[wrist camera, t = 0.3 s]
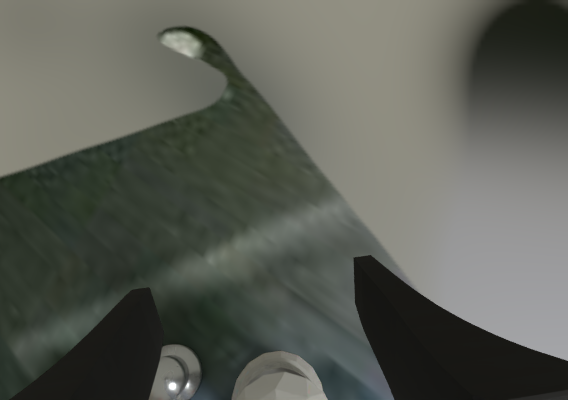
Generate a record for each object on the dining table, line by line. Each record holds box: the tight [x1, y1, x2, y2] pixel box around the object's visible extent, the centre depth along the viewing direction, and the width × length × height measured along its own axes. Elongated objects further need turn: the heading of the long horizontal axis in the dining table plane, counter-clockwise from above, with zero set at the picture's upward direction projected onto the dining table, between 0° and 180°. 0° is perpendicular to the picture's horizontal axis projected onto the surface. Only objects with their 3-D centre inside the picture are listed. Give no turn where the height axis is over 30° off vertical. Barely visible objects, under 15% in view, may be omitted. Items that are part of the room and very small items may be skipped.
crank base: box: [161, 344, 202, 400], centre depth 37 cm, size 6×12×4 cm, turn 91°
